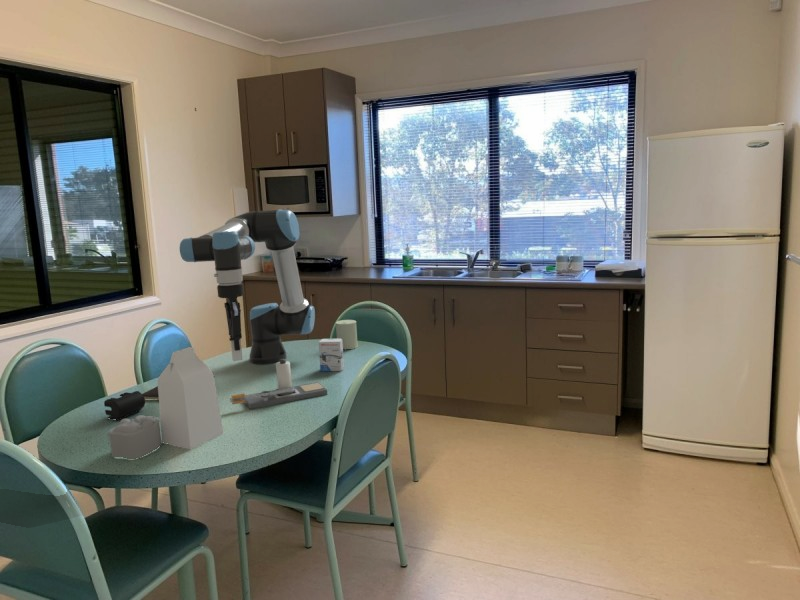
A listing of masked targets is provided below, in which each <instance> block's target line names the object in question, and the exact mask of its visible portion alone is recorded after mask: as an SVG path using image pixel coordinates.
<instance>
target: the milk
mask: <svg viewBox="0 0 800 600" xmlns="http://www.w3.org/2000/svg"><path fill="white" fill-rule="evenodd" d="M214 376H215V375H214V374H213V371H212V370H211V369H210V367H209V366H207V364H206V363H204V361H203V360H201V359H200V358H199V356H198V355H197V354H196V351H195V349H194V347H190V346H189V347H186V348H181V349H179V350H178V349H177V350H175V351H173V352H172V354H171V357H170V361H169V363H168V365H167V366H166V367H165V369H164V370H163V371H162V372H161V373H160V375H159V377H158V378H157V386H158V394H159V401H158V403H159V404H158V406H159V407H158V408H159V423H160V434H161V442H164V443H168V444H171V445H170V446H172V445H175V446H174V447H176V446H179V447H178V448H180V447H183V448H182V449H184V448H187V449H186V450H189V449H192V450H194V449H196V448H197V447H196V446H198V445H200V444H202V445H203V443H204V442H206V441H208V442H210V441H211V440H210V439H212V440H214V439H216V438H217V436H218V437H219V435H220V436H222V435H223V433H224V428H223V423H222V417H221V411H220V406H219V405H220V404H219V400H218V395H217V394H218V393H217V388H216V382H215V377H214ZM221 434H222V435H221ZM215 437H216V438H215ZM213 438H214V439H213ZM209 440H210V441H209ZM206 443H207V442H206ZM204 444H205V443H204ZM200 446H201V445H200ZM195 447H196V448H195ZM198 447H199V446H198ZM193 448H194V449H193Z"/></svg>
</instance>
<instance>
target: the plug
mask: <svg viewBox="0 0 800 600" xmlns="http://www.w3.org/2000/svg"><path fill="white" fill-rule="evenodd" d="M286 359H287V358H286ZM286 359H280V362H276V363H275V368H276V369H275V370H276V380H277V388H275V390H279V389H284V388H290V387H292V389H293V391H290V392H285V393H279V396H283V395H289V394H293V392H295V390H296V389H295V387H294V386H293V384H292V374H291V373H292V371H291V362H290V361H288V360H286Z"/></svg>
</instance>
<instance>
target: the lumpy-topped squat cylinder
mask: <svg viewBox="0 0 800 600" xmlns="http://www.w3.org/2000/svg"><path fill="white" fill-rule="evenodd" d="M108 435H109V444H110V449H111V457H112V456H113V457H123V458H127V459H136V458H140V457H142V456H144V455H146V454H148V453H150V452H152V451H153V450H155V449H157V448H158V447H159V446H160V445H161V446H162V444H161V442H162V436H161V426H160V419H159V418H158V417H157V416H153V415H146V416H145V415H143V414H142V415H141V414H140V415H137V416H135V418H121V419H120V421H119V423H118V425H116V426H114V427H113V428H110V430H109V432H108Z"/></svg>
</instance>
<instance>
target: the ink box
mask: <svg viewBox="0 0 800 600" xmlns="http://www.w3.org/2000/svg"><path fill="white" fill-rule="evenodd" d="M318 352H319V353H318V356H319V368H320V371H319V372H342V371H343V370H344V369H345V363H344V362H345V361H344V350H343V343H342V339H337V338H322V339H320V340H319V341H318Z"/></svg>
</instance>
